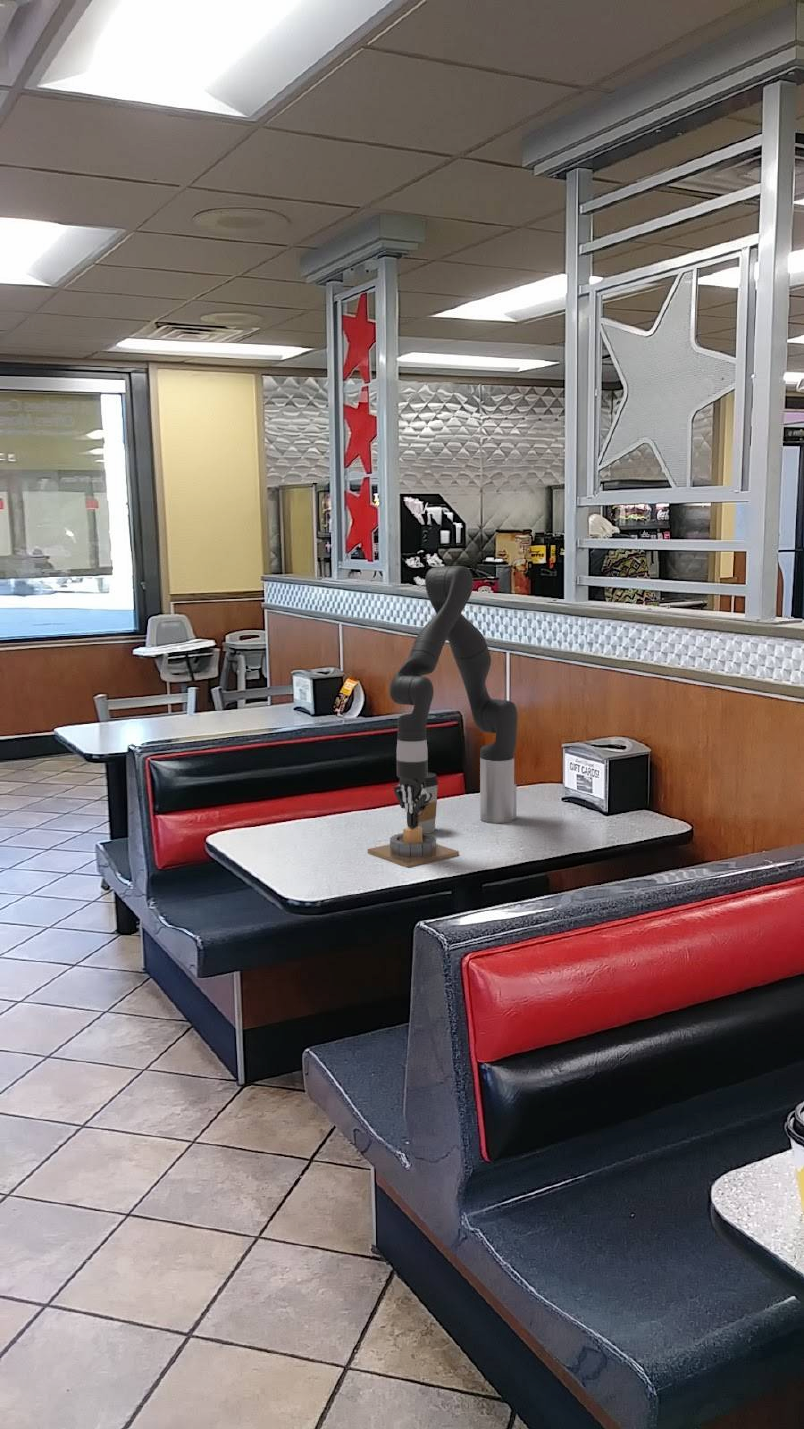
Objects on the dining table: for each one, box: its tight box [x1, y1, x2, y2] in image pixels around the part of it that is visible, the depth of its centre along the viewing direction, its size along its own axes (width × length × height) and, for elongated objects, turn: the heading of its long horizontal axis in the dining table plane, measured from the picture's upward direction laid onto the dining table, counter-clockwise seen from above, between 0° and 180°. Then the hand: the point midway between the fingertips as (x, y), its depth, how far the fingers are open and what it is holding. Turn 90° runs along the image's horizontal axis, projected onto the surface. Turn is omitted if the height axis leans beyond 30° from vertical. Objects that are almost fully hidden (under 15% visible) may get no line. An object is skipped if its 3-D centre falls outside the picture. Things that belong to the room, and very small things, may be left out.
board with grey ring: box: [367, 832, 460, 868], centre depth 274 cm, size 16×16×4 cm
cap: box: [402, 826, 422, 843], centre depth 274 cm, size 6×6×6 cm
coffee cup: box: [418, 772, 439, 834], centre depth 295 cm, size 8×8×15 cm
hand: (412, 827), depth 273 cm, fingers closed
